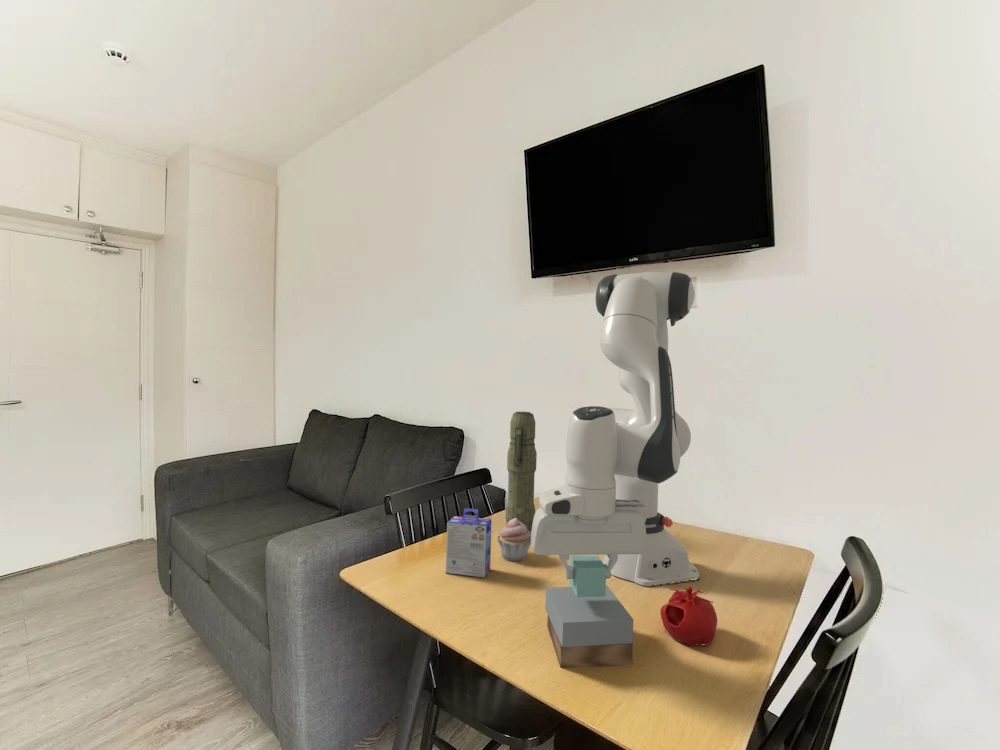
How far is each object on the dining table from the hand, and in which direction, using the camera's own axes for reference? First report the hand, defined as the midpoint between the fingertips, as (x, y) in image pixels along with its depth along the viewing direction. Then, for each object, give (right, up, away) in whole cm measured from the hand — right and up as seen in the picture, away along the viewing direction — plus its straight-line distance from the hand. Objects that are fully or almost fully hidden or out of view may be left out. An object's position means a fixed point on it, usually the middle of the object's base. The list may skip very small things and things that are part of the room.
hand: (587, 577), depth 82 cm
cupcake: (-12, -11, +37) cm, 41 cm away
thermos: (-9, -11, +59) cm, 61 cm away
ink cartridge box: (-23, -11, +28) cm, 38 cm away
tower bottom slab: (0, -13, 0) cm, 13 cm away
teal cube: (0, -2, 0) cm, 2 cm away
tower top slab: (0, -9, 0) cm, 9 cm away
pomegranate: (+19, -13, +4) cm, 24 cm away
